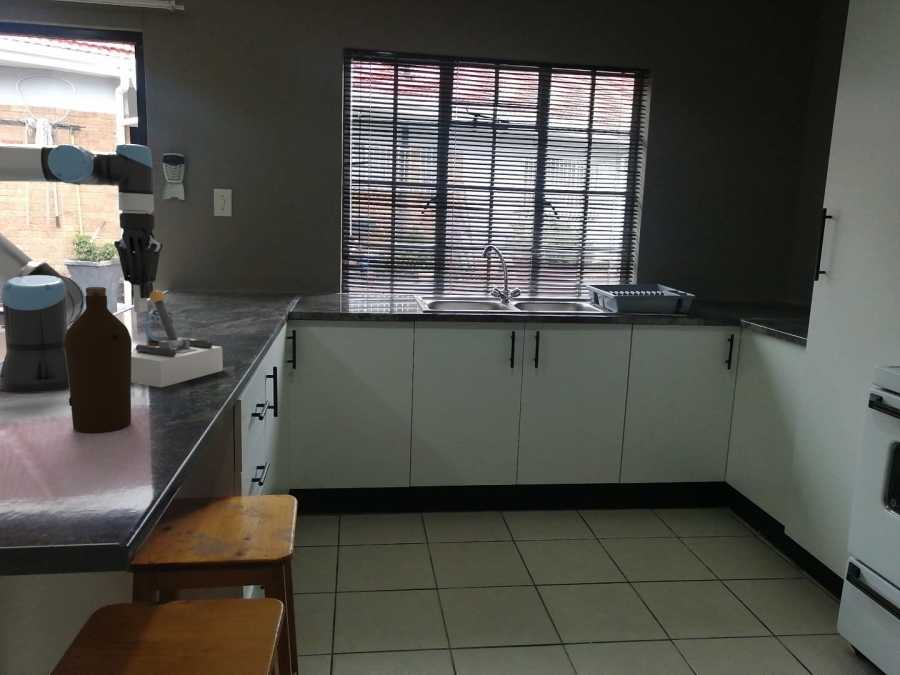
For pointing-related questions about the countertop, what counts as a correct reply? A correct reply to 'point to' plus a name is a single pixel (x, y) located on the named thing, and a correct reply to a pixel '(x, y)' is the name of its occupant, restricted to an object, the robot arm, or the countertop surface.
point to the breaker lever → (165, 318)
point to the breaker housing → (174, 362)
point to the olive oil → (98, 367)
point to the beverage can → (156, 328)
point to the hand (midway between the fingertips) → (141, 311)
